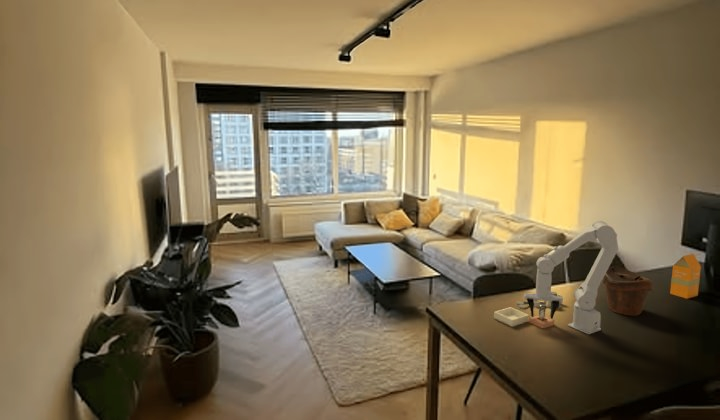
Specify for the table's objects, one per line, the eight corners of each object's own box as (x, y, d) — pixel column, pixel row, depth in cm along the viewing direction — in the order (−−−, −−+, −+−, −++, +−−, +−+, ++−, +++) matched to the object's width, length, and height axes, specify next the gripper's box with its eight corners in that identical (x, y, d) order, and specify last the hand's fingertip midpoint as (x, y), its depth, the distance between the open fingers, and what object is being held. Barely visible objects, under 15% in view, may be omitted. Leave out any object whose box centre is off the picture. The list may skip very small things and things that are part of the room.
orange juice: (669, 293, 208) (673, 254, 205) (680, 290, 212) (684, 251, 208) (687, 298, 201) (692, 258, 198) (698, 295, 205) (702, 255, 201)
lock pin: (547, 324, 178) (548, 306, 176) (542, 325, 176) (543, 307, 175) (540, 321, 180) (541, 303, 179) (535, 322, 179) (536, 305, 178)
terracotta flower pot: (651, 322, 177) (654, 281, 174) (596, 311, 189) (599, 272, 186) (653, 309, 191) (657, 270, 188) (603, 299, 203) (605, 263, 200)
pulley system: (576, 303, 200) (547, 292, 213) (577, 294, 199) (548, 284, 212) (540, 320, 186) (512, 307, 198) (541, 310, 185) (512, 298, 197)
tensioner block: (554, 324, 177) (554, 320, 177) (543, 328, 174) (543, 324, 173) (540, 318, 183) (540, 314, 183) (528, 322, 180) (529, 317, 179)
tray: (528, 321, 180) (529, 314, 180) (512, 327, 176) (512, 320, 175) (510, 313, 189) (510, 307, 189) (493, 318, 184) (494, 311, 184)
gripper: (525, 287, 174) (524, 319, 176) (564, 290, 170) (562, 322, 172) (524, 282, 180) (522, 312, 183) (561, 284, 176) (559, 315, 179)
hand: (541, 316), depth 178 cm, fingers open, 7 cm apart
